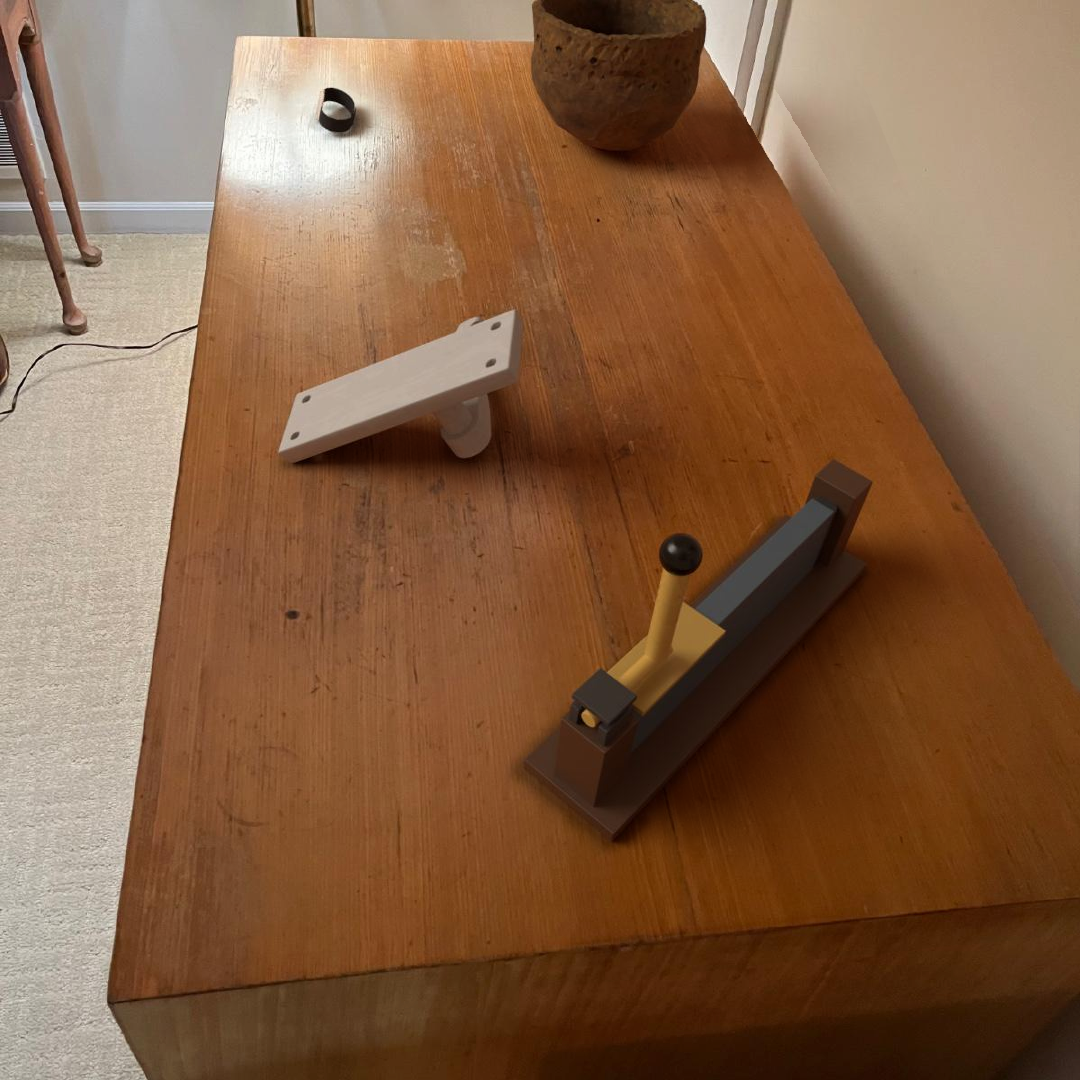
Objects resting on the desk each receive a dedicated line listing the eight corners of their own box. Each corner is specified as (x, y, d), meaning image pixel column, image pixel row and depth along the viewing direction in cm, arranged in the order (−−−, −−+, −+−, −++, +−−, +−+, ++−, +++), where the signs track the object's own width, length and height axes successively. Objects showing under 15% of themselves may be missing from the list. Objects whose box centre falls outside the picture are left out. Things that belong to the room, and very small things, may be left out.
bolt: (651, 639, 59) (679, 517, 52) (681, 660, 58) (714, 540, 51) (571, 713, 56) (590, 593, 48) (602, 737, 55) (626, 619, 47)
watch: (317, 106, 119) (313, 75, 117) (357, 106, 120) (355, 75, 117) (314, 137, 114) (310, 105, 112) (356, 137, 115) (354, 106, 112)
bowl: (528, 97, 124) (536, -36, 113) (681, 110, 125) (703, -22, 114) (520, 172, 112) (528, 30, 101) (690, 186, 112) (716, 46, 101)
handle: (337, 518, 83) (559, 446, 75) (276, 452, 77) (508, 367, 70) (373, 379, 94) (568, 304, 87) (321, 313, 89) (524, 227, 82)
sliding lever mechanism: (782, 523, 78) (815, 429, 71) (863, 572, 75) (905, 480, 68) (522, 767, 62) (531, 678, 55) (611, 842, 59) (632, 758, 52)
